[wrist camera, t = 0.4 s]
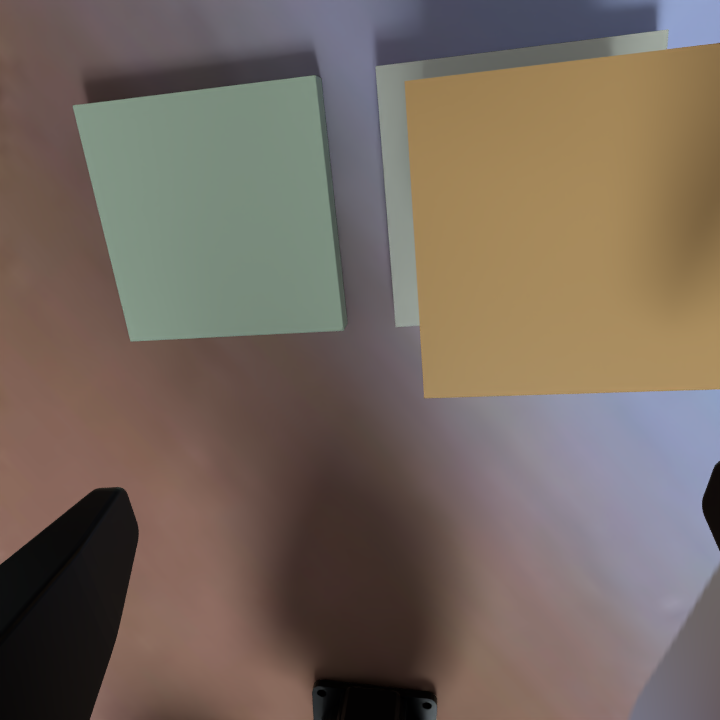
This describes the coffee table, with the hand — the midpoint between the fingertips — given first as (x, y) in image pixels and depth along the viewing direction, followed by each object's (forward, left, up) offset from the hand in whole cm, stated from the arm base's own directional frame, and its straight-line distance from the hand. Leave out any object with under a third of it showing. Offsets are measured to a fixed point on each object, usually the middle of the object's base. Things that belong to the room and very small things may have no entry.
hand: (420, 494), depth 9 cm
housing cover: (+3, -3, -5) cm, 6 cm away
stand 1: (+2, +8, -14) cm, 17 cm away
